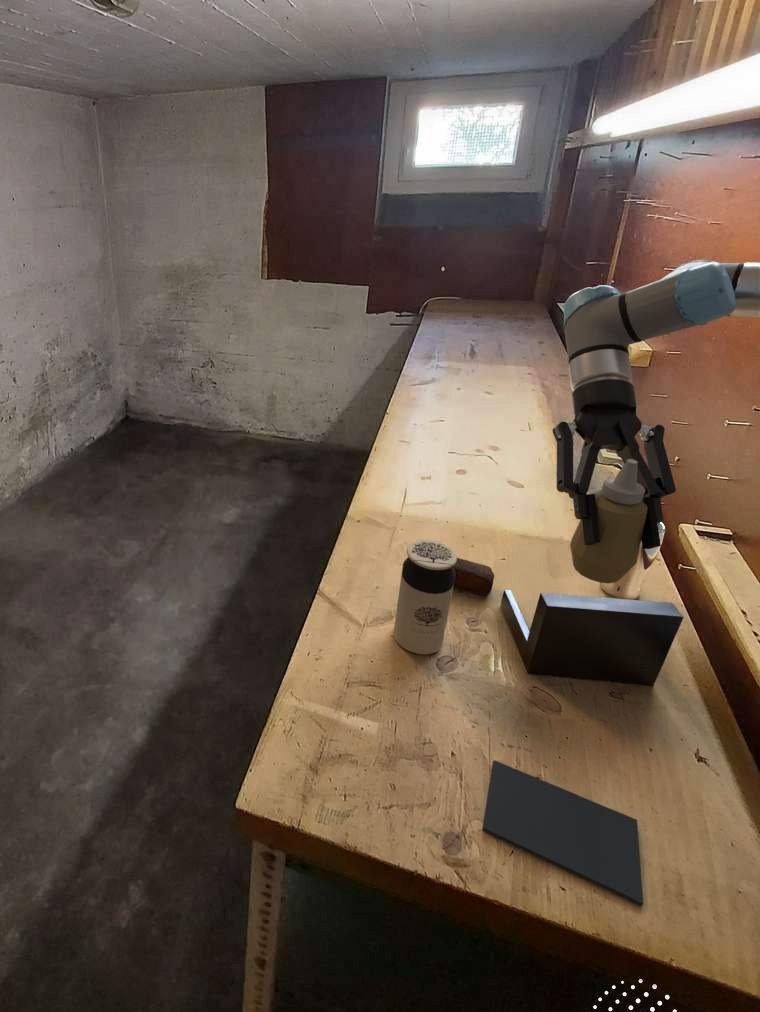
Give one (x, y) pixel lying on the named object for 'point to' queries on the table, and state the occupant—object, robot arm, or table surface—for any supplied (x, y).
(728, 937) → the table surface
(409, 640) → the travel mug
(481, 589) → the brick
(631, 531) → the squeeze bottle
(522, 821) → the mat
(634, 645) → the black angular stand
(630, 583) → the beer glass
